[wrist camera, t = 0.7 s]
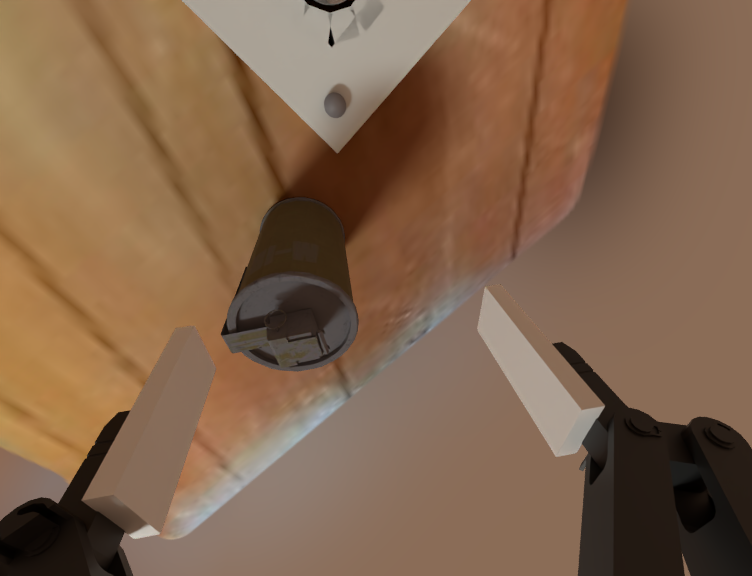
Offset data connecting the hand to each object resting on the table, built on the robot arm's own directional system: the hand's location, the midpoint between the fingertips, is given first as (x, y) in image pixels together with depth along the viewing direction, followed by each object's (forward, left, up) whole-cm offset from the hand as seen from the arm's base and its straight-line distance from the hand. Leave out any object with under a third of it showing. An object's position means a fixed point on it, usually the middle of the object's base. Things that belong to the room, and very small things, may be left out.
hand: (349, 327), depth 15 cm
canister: (+2, -8, -27) cm, 28 cm away
